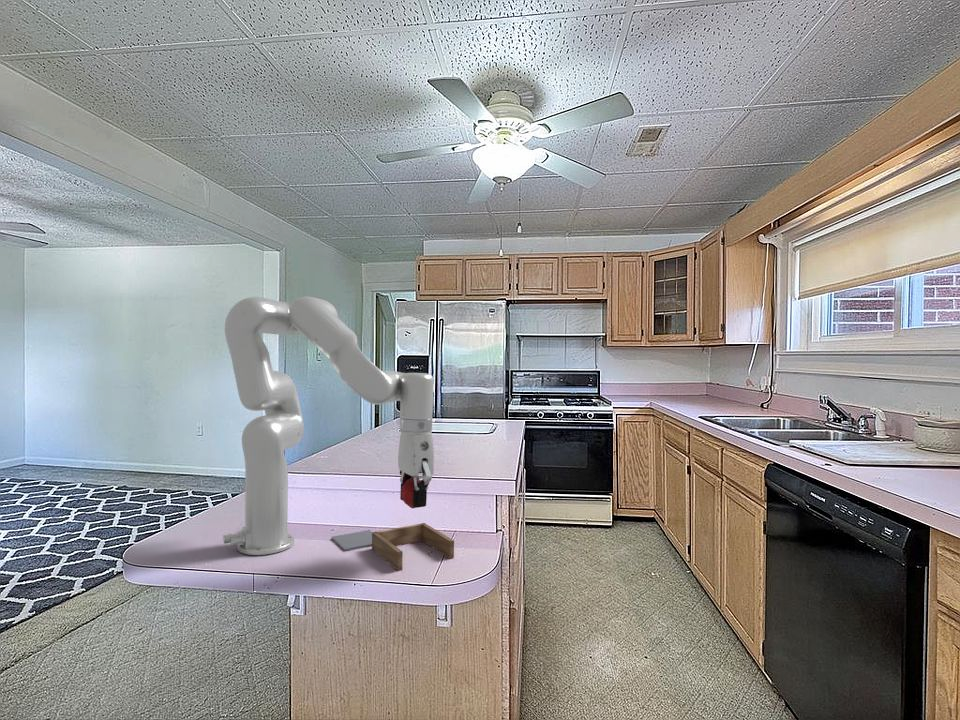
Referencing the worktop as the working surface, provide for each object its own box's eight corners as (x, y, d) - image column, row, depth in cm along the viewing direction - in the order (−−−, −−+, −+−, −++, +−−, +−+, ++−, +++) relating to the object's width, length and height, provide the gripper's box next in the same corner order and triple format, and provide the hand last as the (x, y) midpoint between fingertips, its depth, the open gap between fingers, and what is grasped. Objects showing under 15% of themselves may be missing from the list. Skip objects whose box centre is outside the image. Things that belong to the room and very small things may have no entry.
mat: (344, 551, 124) (344, 549, 124) (331, 538, 132) (331, 536, 132) (384, 543, 129) (384, 541, 129) (369, 531, 138) (369, 529, 138)
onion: (420, 513, 118) (422, 477, 118) (396, 510, 119) (398, 475, 119) (428, 506, 124) (429, 472, 124) (405, 503, 125) (406, 470, 125)
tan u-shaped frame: (398, 570, 113) (398, 552, 113) (371, 549, 125) (372, 532, 125) (453, 557, 121) (454, 540, 121) (424, 538, 133) (424, 522, 133)
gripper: (448, 430, 116) (445, 511, 117) (414, 420, 131) (411, 492, 131) (418, 432, 112) (414, 515, 112) (386, 421, 127) (383, 495, 127)
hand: (413, 502), depth 122 cm, fingers closed on onion, 5 cm apart
